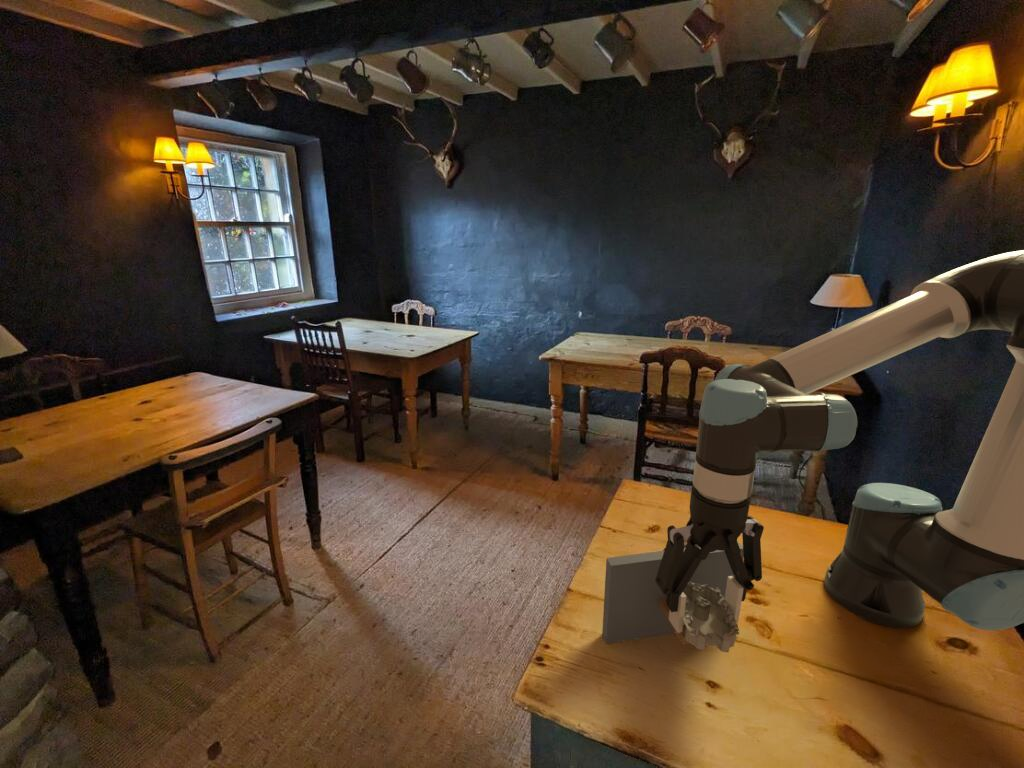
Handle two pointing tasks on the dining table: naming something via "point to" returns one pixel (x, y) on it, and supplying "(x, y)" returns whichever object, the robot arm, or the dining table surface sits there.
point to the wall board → (650, 594)
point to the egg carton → (708, 618)
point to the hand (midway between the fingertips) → (703, 621)
